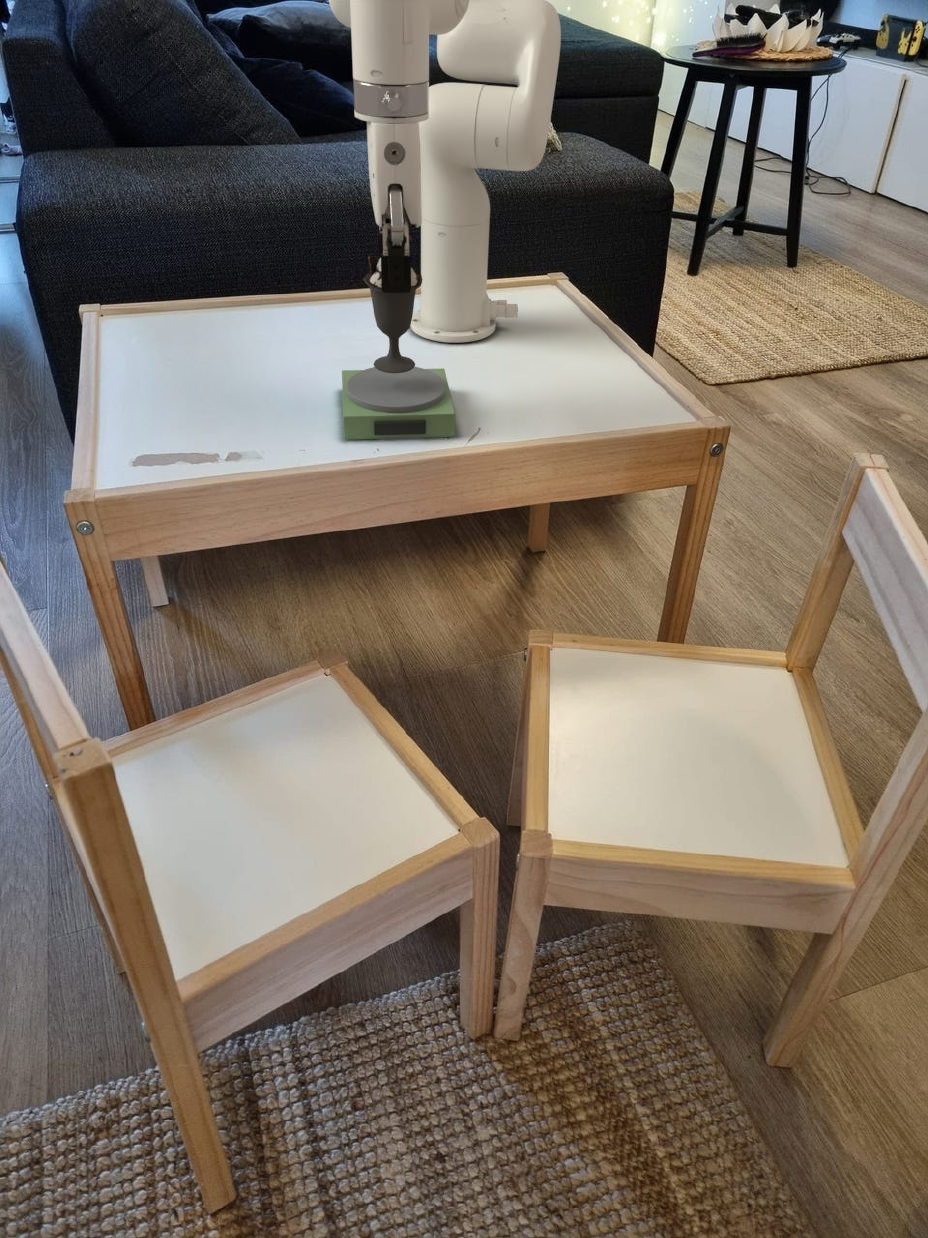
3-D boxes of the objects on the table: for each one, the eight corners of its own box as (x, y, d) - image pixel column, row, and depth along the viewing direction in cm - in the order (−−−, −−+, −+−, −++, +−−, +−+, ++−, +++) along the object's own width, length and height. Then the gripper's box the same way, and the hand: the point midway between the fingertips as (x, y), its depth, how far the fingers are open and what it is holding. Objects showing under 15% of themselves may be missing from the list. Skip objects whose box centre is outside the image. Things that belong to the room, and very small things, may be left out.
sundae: (429, 373, 108) (430, 240, 99) (373, 378, 106) (368, 244, 97) (415, 351, 113) (415, 223, 103) (361, 356, 111) (356, 226, 102)
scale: (443, 390, 119) (444, 362, 117) (455, 438, 109) (456, 409, 106) (343, 392, 118) (341, 364, 115) (344, 441, 107) (343, 411, 105)
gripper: (436, 117, 86) (434, 307, 97) (421, 86, 99) (421, 256, 111) (356, 116, 85) (363, 308, 96) (351, 85, 99) (358, 256, 110)
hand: (394, 279), depth 103 cm, fingers closed on sundae, 6 cm apart
